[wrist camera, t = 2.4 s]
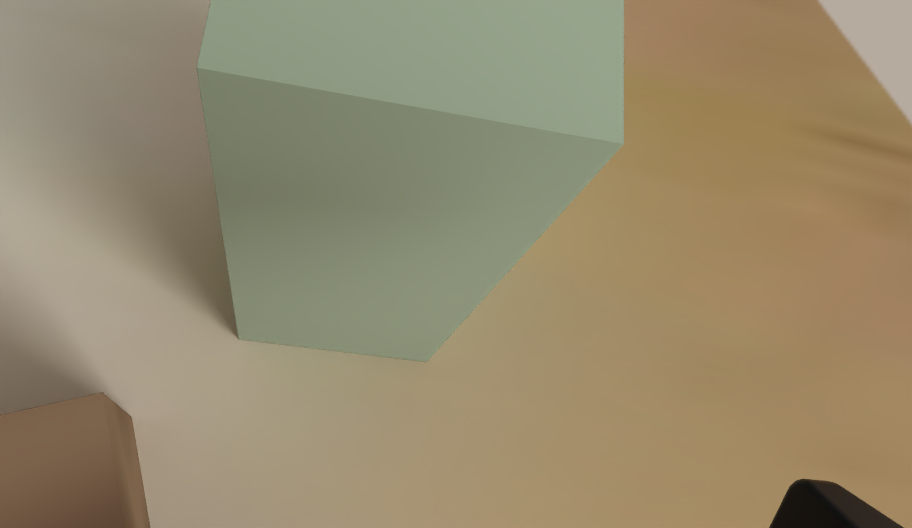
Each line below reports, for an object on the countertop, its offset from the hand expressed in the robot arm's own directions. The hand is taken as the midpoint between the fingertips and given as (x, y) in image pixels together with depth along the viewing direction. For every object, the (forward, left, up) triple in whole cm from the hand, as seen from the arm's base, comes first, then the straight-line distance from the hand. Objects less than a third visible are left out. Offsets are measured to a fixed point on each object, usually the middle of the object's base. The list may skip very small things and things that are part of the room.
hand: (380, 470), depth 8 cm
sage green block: (+5, +5, -13) cm, 14 cm away
